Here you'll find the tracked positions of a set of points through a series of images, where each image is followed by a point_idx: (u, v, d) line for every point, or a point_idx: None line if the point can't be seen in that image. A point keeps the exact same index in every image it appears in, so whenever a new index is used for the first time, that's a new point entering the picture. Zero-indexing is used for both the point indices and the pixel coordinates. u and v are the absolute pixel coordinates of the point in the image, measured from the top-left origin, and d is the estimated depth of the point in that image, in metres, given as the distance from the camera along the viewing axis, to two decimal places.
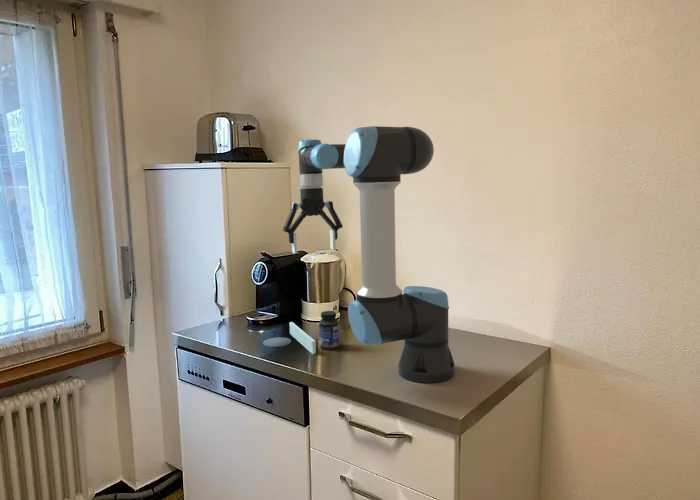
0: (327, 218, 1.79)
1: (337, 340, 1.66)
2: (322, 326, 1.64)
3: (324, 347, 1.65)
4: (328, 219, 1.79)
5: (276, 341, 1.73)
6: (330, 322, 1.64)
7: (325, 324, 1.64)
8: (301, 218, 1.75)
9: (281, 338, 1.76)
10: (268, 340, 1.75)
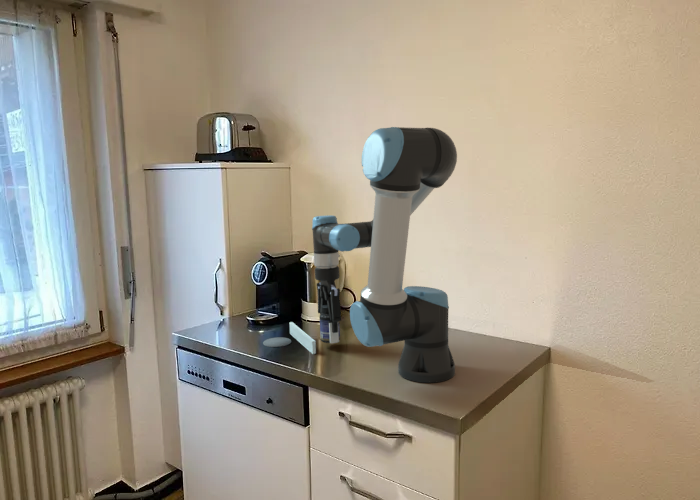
0: (328, 305, 1.62)
1: None
2: (322, 319, 1.63)
3: (325, 340, 1.64)
4: (328, 307, 1.62)
5: (276, 341, 1.73)
6: None
7: (325, 317, 1.63)
8: (321, 299, 1.67)
9: (281, 338, 1.76)
10: (268, 340, 1.75)
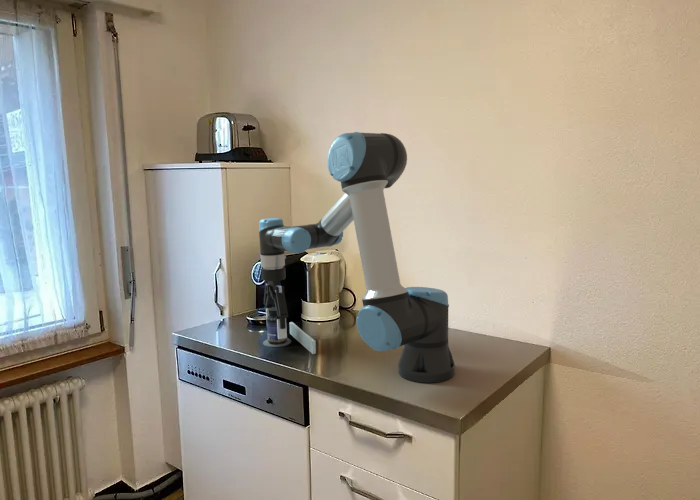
0: (275, 303, 1.66)
1: None
2: (269, 321, 1.70)
3: (271, 342, 1.70)
4: (275, 304, 1.66)
5: None
6: None
7: (271, 319, 1.69)
8: (267, 295, 1.74)
9: None
10: None
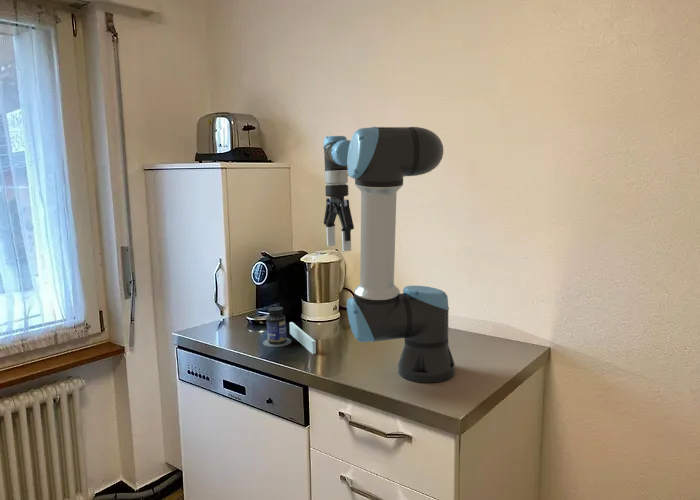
0: (340, 217, 1.72)
1: (284, 335, 1.71)
2: (268, 321, 1.70)
3: (271, 342, 1.70)
4: (340, 218, 1.72)
5: None
6: (276, 317, 1.69)
7: (271, 319, 1.69)
8: (329, 213, 1.80)
9: None
10: None
